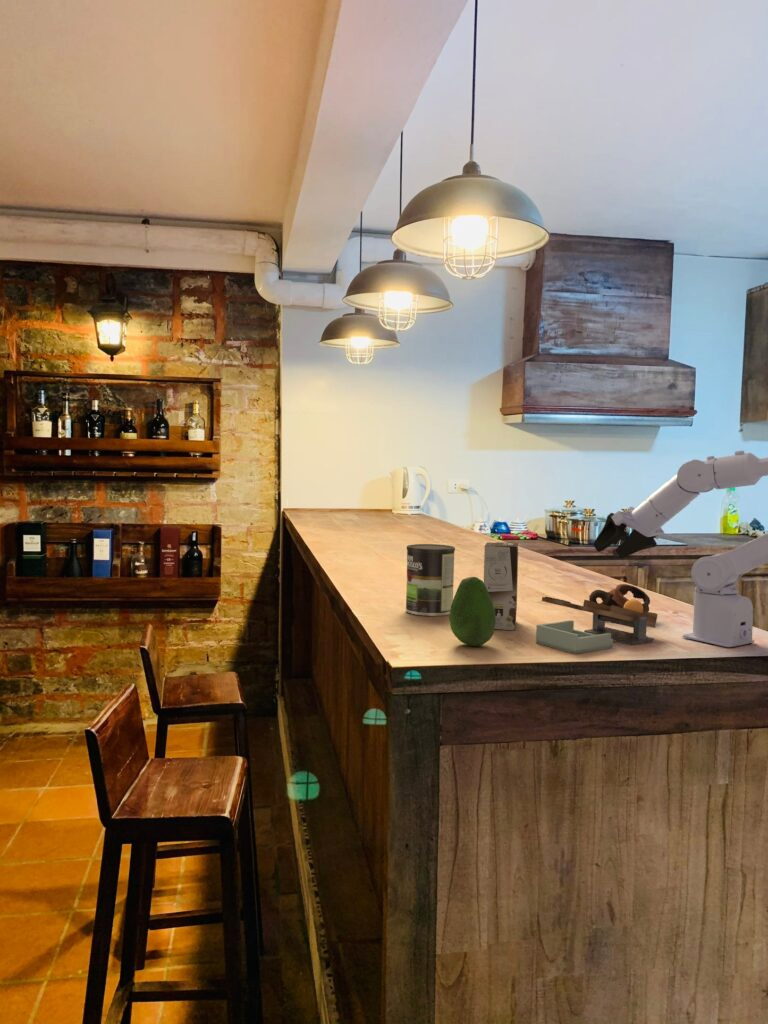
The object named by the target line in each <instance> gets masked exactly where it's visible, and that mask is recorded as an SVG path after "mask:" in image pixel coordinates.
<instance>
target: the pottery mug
mask: <svg viewBox="0 0 768 1024" xmlns="http://www.w3.org/2000/svg"><path fill="white" fill-rule="evenodd" d="M628 592H630V593H631V594H632V595H633V596H632V597H633V599H638V600H641V599H642V601H643V603H641V604H642V605H643V611H646V612H650V604H651V599H650V597H649V595H648V594H647V593H646V592H645V591H644V590H642V589H640V588H639V587H637V586H635V585H631V584H627V583H626V584H625V583H620V584H618V585H616V587H615V588H614V589H611V590H609V591H605V590H601V589H595V590H594V591H592V592H591V593H590V595H589V596H588V597H589V598H588V599H589V601H592V602H596V603H599V602H598V600H597V599H601V602H600V604H603V605H607V606H611V605H614V606H618V607H621V608H624V604H625V603H626V602H627V601H628V600H629V599H628V598H627V597H625V595H627V594H628Z"/></svg>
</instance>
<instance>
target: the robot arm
mask: <svg viewBox="0 0 768 1024" xmlns="http://www.w3.org/2000/svg"><path fill="white" fill-rule="evenodd" d="M767 476H768V457H764V458H763V457H762V458H759V457H757V456H756V455H755V454H753V453H751V452H746V453H745V450H736V451H734V454H733V455H728V456H726V455H725V456H720V457H715V456H714V455H710V456H706V460H700V459H695V458H694V459H692V460H690V461H689V460H688V461H687V462H685V463H683V464H682V465H681V466H680V467H679V468H678V470H677V474H675V475H674V476H673V477H672V478H671V479H670V480H667V481H666V482H665V483H664V484H663V485H661V486H660V487H659V488H658V489H657V490H656V491H654V492H653V493H652V494H651V495H650V496H648V497H647V498H646V499H645V500H643V502H642V503H640V504H639V505H638V506H637V507H633V506H629V507H628V508H627V510H626V511H620V510H618V511H616V512H615V513H613V512H610V513H609V514H608V515H607V516H606V520H605V522H604V525H603V528H602V530H601V531H600V533H599V534H598V536H597V537H596V538H595V540H594V541H593V542H592V545H593V547H594V548H595V550H596V552H599V553H600V552H602V551H604V550H606V549H608V548H609V547H610V546H612V545H614V544H615V543H617V542H619V541H621V540H623V541H622V542H621V543H620V544H619V545H618V546H617V547H616V549H615V553H616V554H617V556H618V558H619V559H622V560H623V559H625V558H627V557H629V556H631V555H633V554H635V553H637V552H639V551H643V550H646V549H651V548H655V547H657V546H658V543H657V542H656V540H659V539H660V538H661V537H662V536H663V535H665V531H664V530H663V529H662V527H663V526H664V525H665V524H666V523H668V522H669V521H670V520H671V519H673V518H674V517H675V516H676V515H678V514H679V513H680V512H681V511H682V510H683V509H685V508H686V507H688V506H689V505H690V504H691V502H692V501H694V500H695V499H696V498H697V497H699V495H701V493H707V492H710V491H713V490H715V489H716V490H723V489H732V488H739V487H740V488H741V487H749V486H755V485H756V484H758V482H759V480H761V479H762V478H763V477H767ZM626 528H630V529H632V530H631V532H630V534H629V535H628V534H627V532H626V530H627V529H626ZM655 539H656V540H655ZM767 563H768V532H766V533H764V534H763V535H760V536H758V537H756V538H755V539H751V540H750V541H748V542H746V543H743V544H742V545H740V546H737V547H734V548H733V549H732V548H731V549H730V550H728V551H726V552H718V553H715V554H713V555H709V556H708V555H707V556H702V557H699V558H698V559H697V560H696V561H695V562H694V563H693V565H692V566H691V572H690V575H691V579H692V582H693V583H694V584H695V587H694V597H693V600H694V601H693V618H692V619H693V620H692V621H693V622H692V623H693V624H692V625H693V626H692V632H691V633H690V632H689V633H685V634H684V633H683V634H682V638H685V639H689V640H694V641H698V642H704V643H707V644H710V645H711V644H713V645H716V646H720V647H726V648H733V647H739V646H744V645H749V643H750V644H754V643H755V639H753V625H754V606H753V602H752V600H751V599H750V598H749V597H747V596H744V595H741V594H739V593H738V592H739V588H738V587H737V585H736V583H737V582H739V580H740V579H741V577H742V576H744V574H747V573H748V572H751V571H753V570H754V569H756V568H758V567H761V566H763V565H765V564H767Z"/></svg>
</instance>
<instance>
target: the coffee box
mask: <svg viewBox="0 0 768 1024" xmlns="http://www.w3.org/2000/svg"><path fill="white" fill-rule="evenodd" d="M483 558H484V559H483V561H484V562H483V583H484V584H485V586H486V588H487V590H488V593H489V595H490V597H491V600H492V603H493V606H494V609H495V617H496V624H495V628H494V630H504V631H514V630H516V625H517V624H516V623H517V609H518V606H517V605H518V603H517V602H518V576H519V575H518V573H519V571H518V570H519V567H518V565H519V564H518V563H519V543H518V542H507V541H506V542H504V541H503V542H501V541H499V542H491V541H489V542H486V543H485V545H484V557H483Z"/></svg>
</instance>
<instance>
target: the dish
mask: <svg viewBox="0 0 768 1024" xmlns="http://www.w3.org/2000/svg"><path fill="white" fill-rule="evenodd" d="M574 624H575V622H574V620H566V621H565V620H563V621H557V622H549V623H542V624H541V623H540V624H536V630H535V631H536V632H535V633H536V636H535V643H536V644H539V645H543V646H546V647H550V648H552V649H553V648H554V649H556V650H559V651H563V652H567V653H570V654H574V655H578V654H582V653H583V654H584V653H589V652H596V651H603V650H607V649H612V648H614V641H613V639H611V634H610V633H606V634H599V635H594V634H590V633H586V632H584V631H581V630H578V629H574Z"/></svg>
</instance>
